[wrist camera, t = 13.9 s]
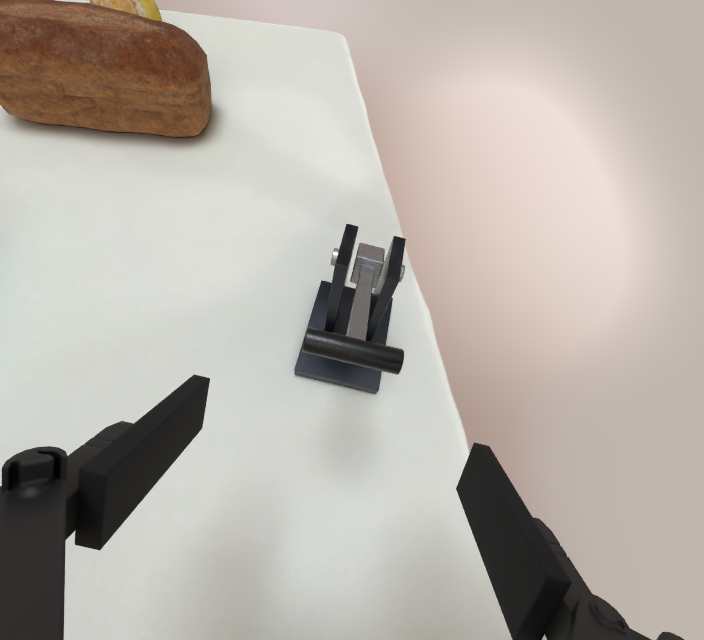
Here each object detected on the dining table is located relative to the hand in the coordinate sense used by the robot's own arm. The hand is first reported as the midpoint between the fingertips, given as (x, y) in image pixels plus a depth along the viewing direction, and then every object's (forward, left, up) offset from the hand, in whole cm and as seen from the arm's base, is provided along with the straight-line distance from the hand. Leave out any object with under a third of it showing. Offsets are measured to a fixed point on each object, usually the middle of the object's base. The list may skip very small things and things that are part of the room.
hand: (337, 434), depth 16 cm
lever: (+5, -8, -4) cm, 10 cm away
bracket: (+7, -13, -18) cm, 23 cm away
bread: (+58, -17, -18) cm, 63 cm away
